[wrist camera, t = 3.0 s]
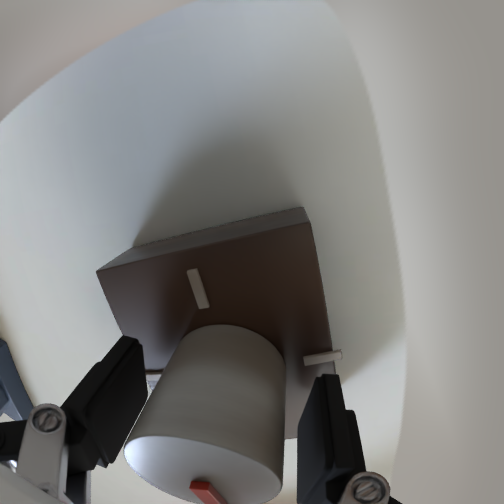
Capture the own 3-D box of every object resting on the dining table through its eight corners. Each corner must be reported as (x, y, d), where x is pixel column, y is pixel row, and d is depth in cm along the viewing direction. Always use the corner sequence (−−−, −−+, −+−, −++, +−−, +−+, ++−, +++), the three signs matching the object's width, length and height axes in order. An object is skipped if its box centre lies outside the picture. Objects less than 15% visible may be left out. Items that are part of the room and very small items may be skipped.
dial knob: (157, 331, 10) (89, 434, 5) (272, 314, 10) (259, 445, 5) (196, 410, 12) (163, 507, 7) (295, 402, 11) (293, 515, 6)
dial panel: (124, 249, 13) (87, 274, 10) (310, 204, 11) (320, 220, 8) (193, 405, 16) (179, 444, 13) (340, 389, 14) (348, 432, 11)
